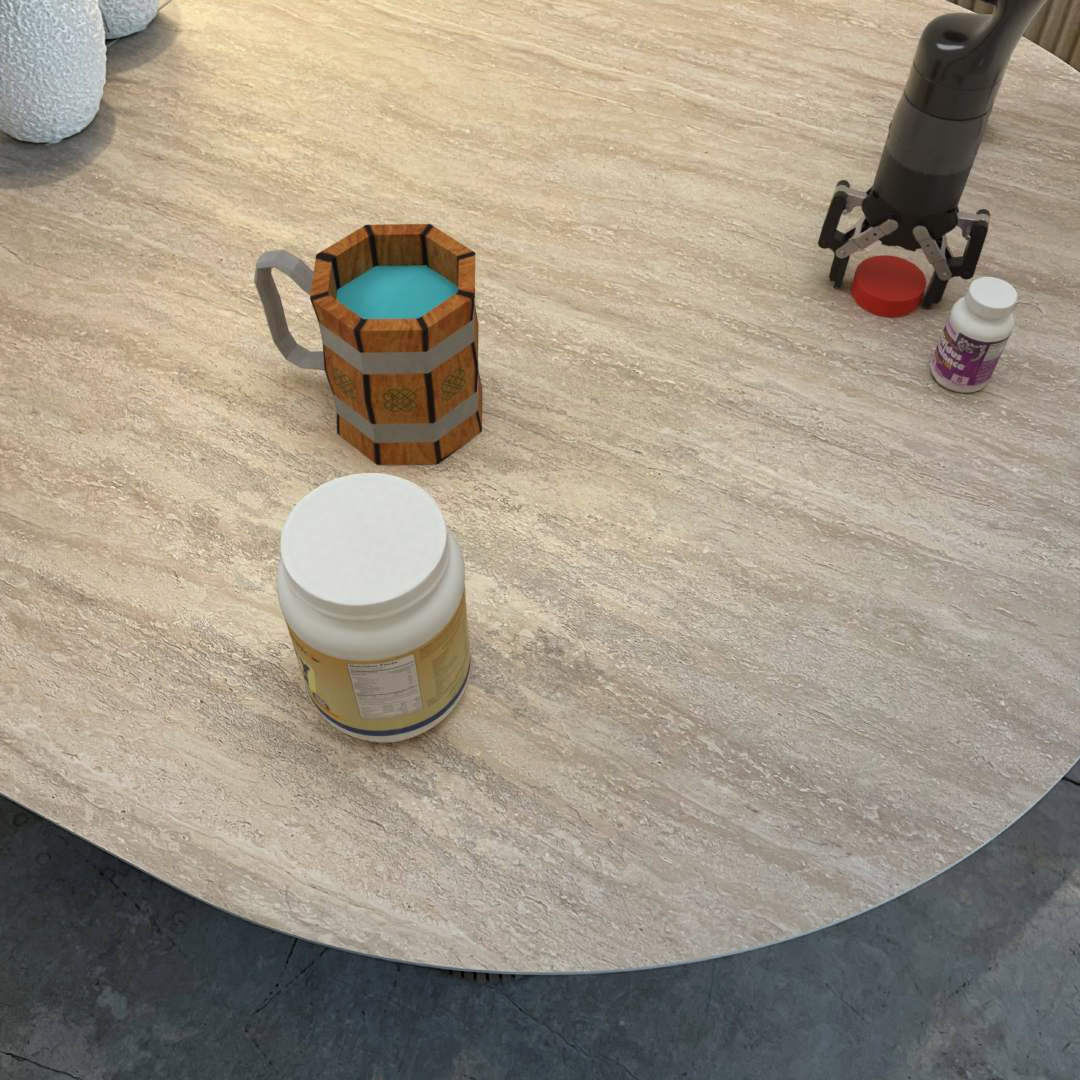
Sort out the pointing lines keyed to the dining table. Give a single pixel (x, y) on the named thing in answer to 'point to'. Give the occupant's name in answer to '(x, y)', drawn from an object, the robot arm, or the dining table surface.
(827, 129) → the dining table surface
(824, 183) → the dining table surface
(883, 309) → the lid
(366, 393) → the mug
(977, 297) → the pill bottle
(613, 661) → the dining table surface
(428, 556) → the supplement tub
